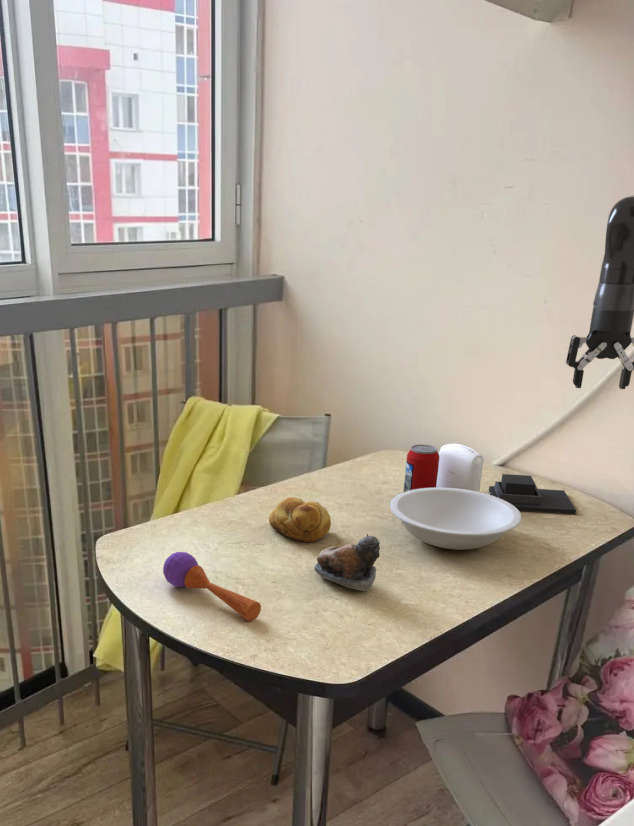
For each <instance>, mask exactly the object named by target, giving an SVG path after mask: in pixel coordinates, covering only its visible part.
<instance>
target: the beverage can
mask: <svg viewBox="0 0 634 826" xmlns="http://www.w3.org/2000/svg"><path fill="white" fill-rule="evenodd" d="M439 458H440V457H439V452H438V448H437V447H435V446H434V445H430V444H413V445H412V446H410V449H409V451H408V452H407V453H406V460H405V461H406V462H405V470H404V481H403V482H404V483H403V492H406V491H410V490H414V489H421V488H435V487H436V484H437V476H438V467H439ZM403 492H402V493H403Z"/></svg>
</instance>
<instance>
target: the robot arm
mask: <svg viewBox="0 0 634 826" xmlns="http://www.w3.org/2000/svg"><path fill="white" fill-rule="evenodd" d="M604 240H605V241H604V242H605V243H604V254H603V257H602V262H601V266H600V273H599V279H598V284H597V288H596V291H595V294H594V299H593V302H592V313H591V318H590V323H589V324H590V325H589V330H588V331H589V332H588V334H587V335H586V336H578V335H576V334H572V336H571V337H570V341H569V346H568V351H567V354H566V361H565V363H566V365H567V366H568V367H570V368H572V369H573V370H574V371H573V378H572V384H573V385H574V387H575V388H576V389H581V388H582V385H583V379H584V373H585V370H584V368H586V367H587V366H588V364H590V363H591V362H593V361H594V360H595V358H596V359H597V360H603V359H608V360H615V359H618V361H619V362H620V363H621V365H622V366H623V368H621V372H620V377H619V383H618V388H619V389H620V390H626V387H629V385H630V383H631V377H632V373H633V371H634V360H633V361H631V359H630V358H629V356H628V354H627V352H626V349H628V348H629V346H630V345H631V344H632V347H633V348H634V337H632V336H631V332H632V327H633V321H634V194H633V195H629V196H625V197H623V198H620V200H618V201H617V202H616V203H614V204H613V206H612V207H611V209H610V211H609V213H608V218H607V223H606V232H605V239H604ZM584 344H585V345H586V346H587V349H586V350H585V352H584V353H583V354H582V355H581V357H580V358H579V359H578V360H577V356H578V352H579V349H580V348H582V347H583V345H584ZM576 360H577V361H576Z"/></svg>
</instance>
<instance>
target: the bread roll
mask: <svg viewBox="0 0 634 826" xmlns="http://www.w3.org/2000/svg"><path fill="white" fill-rule="evenodd" d="M268 522H269V525H270V526H271V528H272V529H274V530H275V531H278V532H280V533H281V534H282V535H284V536H286V537H287V538H289V539H291V540H295V541H298V542H304V543H311V542H317V541H319V540H320V539H323V538H324V537H325V536H326V535H327V534H329V532H330V530H331V526H332V520H331V516H330V513H329V511H328V510H327V508H326V507H325V506H323V505H322V504H321V503H319V502H318V501H307V502H305V501H304V500H303V499H302V498H299V497H293V496H290V497H286V498H285V499H283V500H281V501H280V502H279V503H277V505H276V506H275V508H274V509H273V510H271V512H270V513H269V515H268Z"/></svg>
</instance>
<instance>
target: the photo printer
mask: <svg viewBox="0 0 634 826" xmlns="http://www.w3.org/2000/svg"><path fill="white" fill-rule="evenodd" d="M438 454H439V457H440V458H439V467H438V476H437V484H436V487H443V488H458V489H466V490H472V491H477V492H481V491H480V489H481V481H482V475H483V467H484V457H483V455H482V454H481V453H479V452H478V451H477V450H476V449H474V448H472V447H469V446H467V445H464V444H461V443H448V444H444V445H442V446H441V448H440V449H439V452H438Z"/></svg>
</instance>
